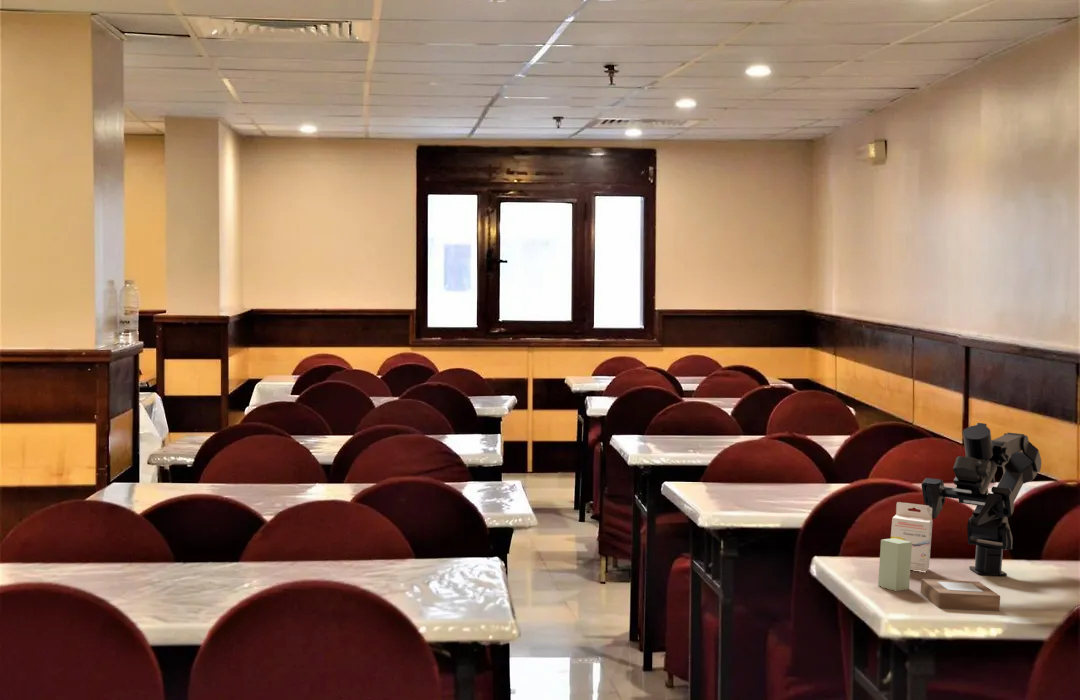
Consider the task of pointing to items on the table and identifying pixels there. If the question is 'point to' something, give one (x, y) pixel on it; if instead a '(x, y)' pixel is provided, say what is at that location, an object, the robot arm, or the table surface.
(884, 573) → the sage pillar
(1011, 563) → the table surface
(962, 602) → the walnut base plate
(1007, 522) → the robot arm
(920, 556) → the ink cartridge box
